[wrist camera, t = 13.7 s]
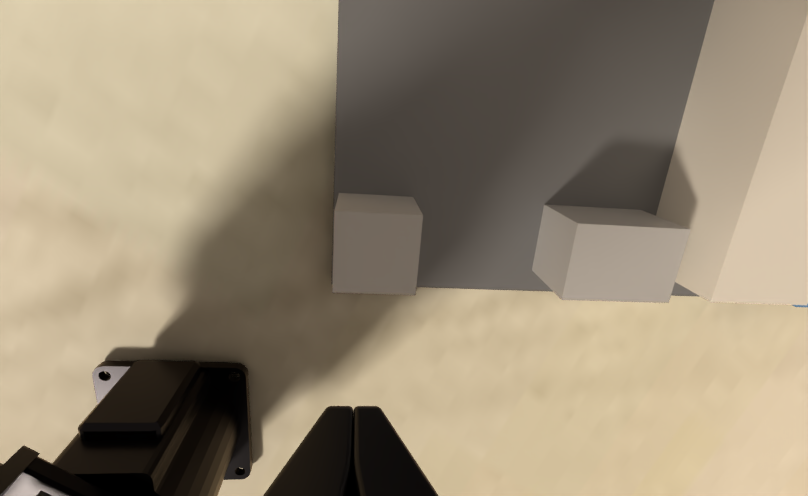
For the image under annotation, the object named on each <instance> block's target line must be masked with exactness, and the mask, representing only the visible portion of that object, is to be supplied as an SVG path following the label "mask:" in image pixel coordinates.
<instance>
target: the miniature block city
mask: <svg viewBox="0 0 808 496" xmlns="http://www.w3.org/2000/svg"><path fill="white" fill-rule="evenodd" d="M714 1H715V0H339V12H338V52H337V92H336V131H335V171H334V211H333V251H332V284H333V288H332V293H361V294H393V295H416V287H431V288H462V289H492V290H523V291H553V292H554V293H555V294H556V295H557V296H558V297H559V298H560V299H561V300H589V301H621V302H654V303H669V300H670V297H671V295H675V296H699V295H697V294H695V293H694V292H692V291H690V290H688V289H687V288H685V287H683V286H681V285H680V284H678V283H676V282H675V280H676V277H677V273H678V270H679V267H680V264H681V260H682V257H683V254H684V250H685V247H686V244H687V240H688V237H689V234H690V231H691V229H689V228H686V227H683V226H681V225H678V224H676V223H673V222H671V221H668V220H665V219H663V218H660V217H658V216H656V213H657V210H658V206H659V202H660V199H661V195H662V191H663V188H664V184H665V180H666V177H667V173H668V169H669V166H670V162H671V158H672V155H673V151H674V147H675V144H676V140H677V136H678V133H679V129H680V125H681V122H682V118H683V114H684V111H685V107H686V103H687V100H688V96H689V92H690V89H691V85H692V81H693V78H694V74H695V70H696V67H697V63H698V59H699V56H700V52H701V48H702V45H703V41H704V37H705V34H706V30H707V26H708V23H709V19H710V15H711V12H712V8H713V4H714ZM793 306H795V307H808V304H807V305H793Z"/></svg>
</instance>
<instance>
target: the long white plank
mask: <svg viewBox="0 0 808 496" xmlns="http://www.w3.org/2000/svg"><path fill="white" fill-rule="evenodd" d="M656 216H658V217H660V218H663V219H665V220H668V221H671V222H673V223H676V224H678V225H681V226H683V227H686V228H689V229H691V231H690V234H689V237H688V240H687V244H686V247H685V250H684V254H683V257H682V260H681V264H680V267H679V270H678V273H677V277H676V280H675V282H676V283H678V284H680V285H681V286H683V287H685V288H687V289H688V290H690V291H692V292H694V293H695V294H697V295H699V296H700V297H702V298H704V299H706V300H707V301H709V302H717V303H750V304H782V305H807V304H808V0H715V1H714V4H713V8H712V12H711V15H710V19H709V23H708V26H707V30H706V34H705V37H704V41H703V45H702V48H701V52H700V56H699V59H698V63H697V67H696V70H695V74H694V78H693V81H692V85H691V89H690V92H689V96H688V100H687V103H686V107H685V111H684V114H683V118H682V122H681V125H680V129H679V133H678V136H677V140H676V144H675V147H674V151H673V155H672V158H671V162H670V166H669V169H668V173H667V177H666V180H665V184H664V188H663V191H662V195H661V199H660V202H659V206H658V210H657V213H656Z"/></svg>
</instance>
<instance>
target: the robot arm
mask: <svg viewBox="0 0 808 496" xmlns="http://www.w3.org/2000/svg"><path fill="white" fill-rule="evenodd" d="M104 371H106V372H108V373H110V375H111V376H110V375H107V374H105V372H104ZM233 372H235V373H238V374H239V375H240V376H238V377H237V376H234V375H232V373H233ZM92 376H93V382H94V387H95V393H96V398H97V404H98V405H97V406H96V407H95V408H94V409H93V410H92V411H91V413H90V414H89V415H88V416H87V417H86V418H85V420H84V421H83V422H82V423H81V424H80V425H79V427H78V431H79V433H78V434H77V435H76V436H75V437H74V439H73V440H72V441H71V442H70V443H69V445H68V446H67V447H66V448H65V449H64V450H63V452H62V453H61V454H60V455H59V456H58V457H57V459H56V460H55V461H54V462H53V463H50V462H48V461H46V460H44V459H42V458H40V457H38V455H39V454H40V453H38V452H36V451H34V450H32V449H30V448H28V447H26V446H22V447H21V448H20V449H19V450H18V451H17V452H16V453H15V454H14V455H13V456H12V457H11V458H10V459H9V460H8V461H7V462H6V463H5V464H1V463H0V496H217V495H218V493H219V490H220V487H221V485H222V482H223V480H228V479H245V478H247V477H248V476H249V475H250V472H251V469H252V445H251V424H250V402H249V380H248V370H247V368H246V367H245V365H243V364H241V363H228V362H196V361H171V360H138V361H105V362H102V363H101V364H99V365H98V366H97V367H96V368H95V370H94V371H93V375H92ZM239 467H240V468H243V469H240V468H239ZM264 496H438V494H437V493H436V491H435V490H434V488H433V487H432V485H431V484H430V482H429V481H428V479H427V478H426V476H425V475H424V473H423V472H422V470H421V469H420V467H419V466H418V464H417V463H416V461H415V459H414V458H413V456H412V455H411V453H410V452H409V450H408V449H407V447H406V446H405V444H404V443H403V441H402V440H401V438H400V437H399V435H398V434H397V432H396V431H395V429H394V428H393V426H392V425H391V423H390V422H389V420H388V419H387V417H386V416H385V414H384V413H383V411H382V410H381V408H379V407H377V406H357V407H355V409H354V412H353V409H352V407H350V406H330V407H327V408H326V409H325V411H324V412H323V413H322V415H321V416H320V417H319V419H318V420H317V422H316V423H315V424H314V426H313V427H312V429H311V430H310V431H309V433H308V434H307V436H306V437H305V438H304V440H303V441H302V443H301V444H300V445H299V447H298V448H297V450H296V451H295V452H294V454H293V455H292V457H291V458H290V459H289V461H288V462H287V463H286V465H285V466H284V468H283V469H282V470H281V472H280V473H279V475H278V476H277V477H276V479H275V480H274V482H273V483H272V484H271V486H270V487H269V489H268V490H267V491H266V493H265V494H264Z"/></svg>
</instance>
